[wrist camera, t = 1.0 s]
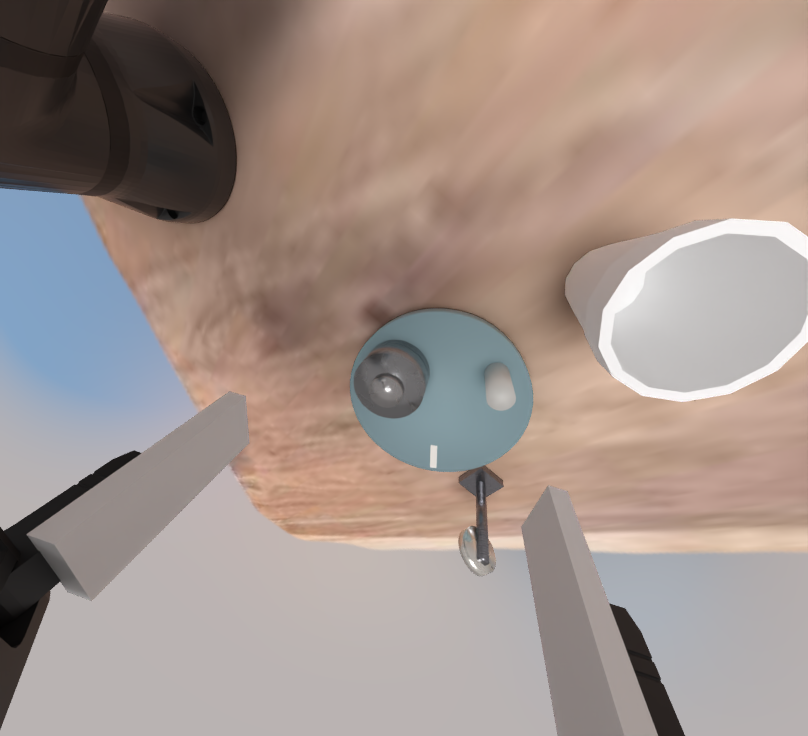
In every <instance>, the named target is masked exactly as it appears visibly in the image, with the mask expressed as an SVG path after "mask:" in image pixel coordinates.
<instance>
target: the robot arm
mask: <svg viewBox="0 0 808 736" xmlns="http://www.w3.org/2000/svg"><path fill="white" fill-rule="evenodd" d="M107 1H108V0H0V188H6V189H19V190H30V191H42V192H54V193H67V194H79V195H89V196H97V197H100V198H103V199H106V200H108V201H111V202H114V203H116V204H119V205H121V206H124V207H127V208H129V209H132V210H135V211H137V212H140V213H142V214H145V215H148V216H150V217H153V218H156V219H159V220H163V221H168V222H181V223H196V222H201V221H204V220H207V219H209V218H211V217H212V216H214V215H215V214H216V213H217V212H218V211H219V210H220V209H221V208H222V207H223V206H224V204H225V203H226V201H227V199H228V197H229V195H230V192H231V189H232V186H233V182H234V177H235V170H236V150H235V141H234V135H233V130H232V126H231V122H230V119H229V116H228V113H227V110H226V107H225V105H224V102H223V100H222V98H221V96H220V94H219V92H218V90H217V88H216V86H215V84H214V82H213V81H212V79H211V78H210V76H209V75H208V73H207V72H206V71H205V69H204V68H203V67H202V65H201V64H200V63H199V62H198V61H197V60H196V59H195V57H194V56H193V55H191V54H190V53H189V52H188V51H187V50H186V49H185V48H184V47H182V46H181V45H179V44H178V43H177V42H175V41H173V40H172V39H170V38H169V37H167V36H166V35H164V34H162V33H161V32H159V31H158V30H156V29H154V28H153V27H151V26H149V25H147V24H145V23H142V22H140V21H137V20H135V19H131V18H127V17H122V16H118V15H113V14H108V13H103V10H104V8H105V6H106V3H107ZM248 444H249V432H248V419H247V406H246V396H244V395H240V394H237V393H234V392H230V391H229V392H228V393H227V394H225V395H224V396H222V397H221V398H219V399H218V400H217V401H215V402H214V403H212V404H211V405H209V406H208V407H207V408H205V409H204V410H202V411H201V412H200V413H198V414H197V415H195V416H194V417H192V418H191V419H190V420H188V421H187V422H185V423H184V424H183V425H181V426H180V427H178V428H177V429H175V430H174V431H173V432H171V433H170V434H168V435H167V436H165V437H164V438H163V439H161V440H160V441H158V442H157V443H155V444H154V445H153V446H152V447H150V448H148V449H147V450H146V451H144V452H143V453H140V452H137V451H132V452H129V453H127V454H124V455H122V456H120V457H117V458H115V459H113V460H111V461H110V462H108V463H107V464H105V465H104V466H102V467H101V468H99V469H98V470H96V471H95V472H94V474H90V475H88V476H87V477H85V478H84V479H82V480H81V481H79V483H78V484H77V485H73V486H72V487H70V488H69V489H68V490H66V491H64V492H63V493H61V494H60V495H58V496H57V497H55V498H54V499H52V500H51V501H49V502H48V503H46V504H45V505H43V506H42V507H40V508H39V509H37V510H36V511H34V512H33V513H31V514H30V515H28V516H27V517H25V518H24V519H22V520H21V521H19V522H18V523H16V524H15V525H13V526H11V527H10V528H8V529H6V530H5V531H3V530H2V529H1V527H0V728H1V726H2V724H3V721H4V718H5V715H6V713H7V710H8V708H9V705H10V703H11V700H12V697H13V695H14V692H15V689H16V687H17V684H18V682H19V679H20V676H21V673H22V671H23V668H24V666H25V663H26V660H27V658H28V655H29V653H30V650H31V647H32V645H33V642H34V639H35V637H36V634H37V632H38V629H39V626H40V624H41V621H42V618H43V615H44V613H45V611H46V608H47V605H48V603H49V599H50V590H51V589H52V588H53V587H54V586H55V585H57V584H58V583H59V582H61V583H62V585H63V586H64V587H65V589H66V590H67V592H69V593H72V594H75V595H77V596H80V597H82V598H85V599H88V600H90V601H92V600H93V599H94V598H95V597H96V596H97V595H98V594H99V593H100V592H101V591H102V590H103V589H104V588H105V587H106V586H107V585H108V584H109V583H110V582H111V581H112V580H113V579H114V578H115V577H116V576H117V575H118V574H119V573H120V572H121V571H122V570H123V569H124V568H125V567H126V566H127V565H128V564H129V563H130V562H131V561H132V560H133V559H134V558H135V557H136V556H137V555H138V554H139V553H140V552H141V551H142V550H143V549H144V548H145V547H146V546H147V545H148V544H149V543H150V542H151V541H152V540H153V539H154V538H155V537H156V536H157V535H158V534H159V533H160V532H161V531H162V530H163V529H164V528H165V527H166V526H167V525H168V524H169V523H170V522H171V521H172V520H173V519H174V518H175V517H176V516H177V515H178V514H179V513H180V512H181V511H182V510H183V509H184V508H185V507H186V506H187V505H188V504H189V503H190V502H191V501H192V500H193V499H194V498H195V496H197V495H198V494H199V493H200V492H201V491H202V490H203V489H204V488H205V487H206V486H207V485H208V484H209V483H210V482H211V480H213V479H214V478H215V477H216V476H217V475H218V473H220V472H221V471H222V470H223V469H224V468H225V467H226V466H227V465H228V464H229V463H230V462H231V461H232V460H233V459H234V458H235V457H236V456H237V455H238V454H239V453H240V452H241V451H242V450H243V449H244V448H245V447H246V446H247V445H248ZM521 528H522V534H523V539H524V545H525V551H526V556H527V562H528V568H529V573H530V579H531V585H532V591H533V597H534V602H535V608H536V614H537V619H538V624H539V631H540V637H541V642H542V648H543V654H544V660H545V665H546V671H547V676H548V683H549V688H550V694H551V699H552V705H553V710H554V717H555V723H556V728H557V734H558V736H685V735H684V732H683V730H682V728H681V725H680V723H679V720H678V718H677V716H676V713H675V711H674V709H673V706H672V704H671V702H670V699H669V697H668V695H667V692H666V690H665V687H664V685H663V684H662V683H661V681H660V679H661V678H660V676H659V673H658V671H657V668H656V666H655V664H654V662H652V660H651V658H652V657H651V654H650V652H649V649H648V647H647V645H646V642H645V640H644V638H643V635H642V633H641V631H640V630H639V628H638V627H637V625H636V624H635V622H634V621H633V619H632V618H631V617H630V615H629V614H628V612H627V611H626V609H625V608H622V607H619V606H615V605H612V604H609V602H608V599H607V596H606V594H605V591H604V588H603V586H602V583H601V580H600V578H599V575H598V572H597V569H596V567H595V564H594V561H593V559H592V556H591V553H590V550H589V548H588V545H587V542H586V540H585V537H584V534H583V532H582V529H581V526H580V523H579V521H578V518H577V515H576V513H575V510H574V507H573V505H572V502H571V499H570V496H569V494H568V491H565V490H562V489H559V488H555V487H552V486H549V485H548V486H547V488H546V489H545V491H544V493H543V494H542V496H541V497H540V499H539V500H538V502H537V503H536V505H535V507H534V508H533V510H532V511H531V513H530V514H529V516H528V517H527V519H526V521H525V522H524V524H523V525H522V527H521Z"/></svg>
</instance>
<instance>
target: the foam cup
mask: <svg viewBox="0 0 808 736" xmlns="http://www.w3.org/2000/svg"><path fill="white" fill-rule="evenodd" d="M565 296H566V298H567V300H568V302H569V304H570V307H571V309H572V310H573V312H574V314H575V316H576V317H577V319H578V321H579V323H580V325H581V326H582V328H583V330H584V335H585V337H586V339H587V341H588V343H589V345H590V347H591V349H592V351H593V353H594V355H595V357H596V359H597V361H598V362H599V363H600V364H601V365H602V366H603V367H604V368H605V369H606V370H607V371H608V373H609V374H610V375H611V376H612V377H614V378H615V379H617V380H618V381H620V382H622V383H623V384H625V385H626V386H628V387H629V388H631V389H632V390H634V391H635V392H637V393H638V394H640V395H642V396H647V397H654V398H660V399H667V400H673V401H679V402H685V401H691V400H697V399H703V398H709V397H715V396H720V395H726V394H731V393H733V392H735V391H737V390H739V389H741V388H743V387H745V386H747V385H749V384H751V383H753V382H755V381H757V380H759V379H761V378H763V377H766V376H768V375H770V374H772V373H774V372H776V371H777V370H778V369H780V368H781V367H782V366H783V365H784V364H785V363H786V362H787V361H788V360H789V359H790V358H791V357H792V356H793V355H794V354H795V353H796V352H797V351H799V350H800V349H801V348H802V347H803V346H804V345H805V344H806V343H807V342H808V236H806V235H805V234H803V233H802V232H800V231H799V230H798V229H796V228H795V227H793V226H792V225H790V224H789V223H788V222H777V221H761V220H746V219H714V220H695V221H692V222H689V223H686V224H683V225H680V226H678V227H675V228H672V229H669V230H666V231H663V232H660V233H657V234H652V235H648V236H644V237H639V238H635V239H631V240H627V241H622V242H618V243H614V244H610V245H606V246H603V247H600V248H598V249H595V250H592V251H589V252H588V253H586V254H585V255H584V256H583V257H582V258H580V259H579V260H578V261H577V262H576V263H574V265H573V267H572V268H571V270H570V272H569V274H568V276H567V277H566V281H565Z"/></svg>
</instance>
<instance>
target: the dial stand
mask: <svg viewBox="0 0 808 736" xmlns="http://www.w3.org/2000/svg"><path fill="white" fill-rule="evenodd" d="M459 483H460V484H461V485H462V486H463V487H465V488H466V489H467V490H468V491H470V492H471V493H472V494H473V495H475V496H476V525H477V527H475V526H470V527H468V528H466V529H465V530H463V531H462V532H461V533H460V535H459V540H458V543H459V549H460V553H461V556H462V558H463V560H464V562H465V564H466V565H467V567H468V568H469V569H470V570H471V571H472V572H473V573H474V574H476V575H477V576H484V575H487V574H489V573H491V572H493V570H494V569H495V565H496V559H495V554H494V550H493V547H492V545H491V543H490V541H489V539H488V525H487V505H486V497H487V496H489V495H491V494H492V493H494V492H496V491H497V490H499V489H501V488H502V487H504V486H503V480H501V479H500V478H499V477H498V476H496V475H495V474H494V473H493V472H492V471H490V470H489V469H488V468H487V467H486V466H481V467H478V468H474V469H471V470H469V471H467V472H466V473H464V474H463V475H462V476H460V477H459Z"/></svg>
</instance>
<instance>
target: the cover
mask: <svg viewBox="0 0 808 736" xmlns="http://www.w3.org/2000/svg"><path fill="white" fill-rule="evenodd" d="M429 376H430V369H429V364H428V361H427V359H426V357H425V356H424V354H423V353H422V352H421V351H420V350H419V349H418V348H417V347H416V346H414V345H412V344H411V343H408V342H406V341H402V340H388V341H384V342H382V343H380V344H378V345H377V346H376V347H375V348H374V349H373V350H372V351H371V352H370V353H369V354H368V355H367V357H366V358H365V359H364V360H363V361H362V362H361V364H360V365H359V366H358V368H357V370H356V372H355V375H354V389H355V393H356V395H357V397H358V399H359V400H360V402H361V403H362V404H363V405H364V406H365V407H366V408H367V409H368V410H369V411H371V412H372V413H374V414H376V415H378V416H381V417H385V418H392V419H395V418H402V417H406V416H408V415H410V414H412V413H413V412H414V411H416V410H417V409H418V407H419V406H420V404H421V402H422V400H423V397H424V393H425V390H426V387H427V384H428V380H429Z"/></svg>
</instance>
